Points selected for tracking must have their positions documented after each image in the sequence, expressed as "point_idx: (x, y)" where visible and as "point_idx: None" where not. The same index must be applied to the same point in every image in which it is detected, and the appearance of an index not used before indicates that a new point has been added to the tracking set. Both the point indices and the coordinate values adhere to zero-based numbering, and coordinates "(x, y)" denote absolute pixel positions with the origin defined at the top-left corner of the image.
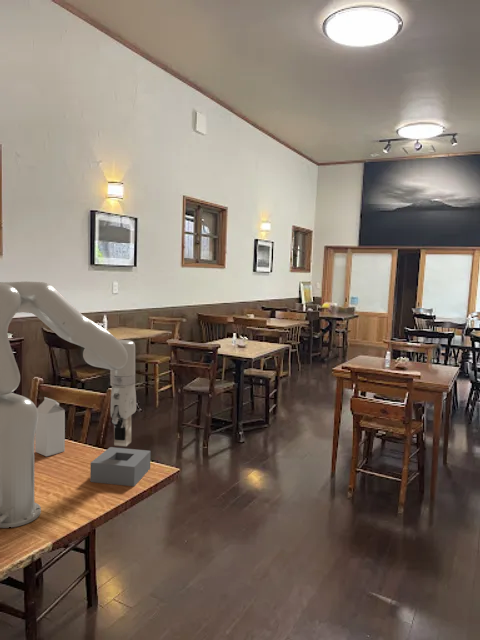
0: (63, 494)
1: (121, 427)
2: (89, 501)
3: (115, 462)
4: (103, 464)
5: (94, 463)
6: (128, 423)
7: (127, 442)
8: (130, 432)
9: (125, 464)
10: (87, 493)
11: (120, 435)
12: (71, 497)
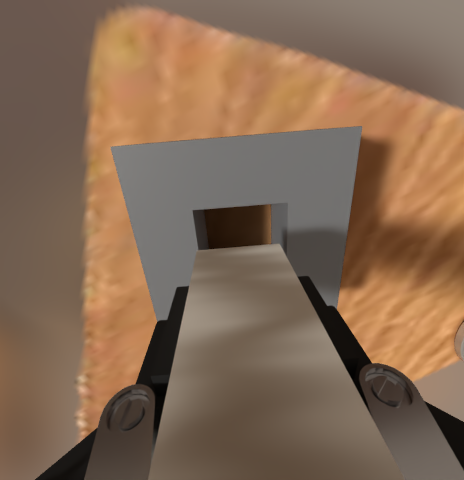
0: (395, 298)
1: (404, 384)
2: (441, 217)
3: (317, 241)
4: (339, 275)
5: (336, 306)
6: (271, 384)
7: (265, 254)
8: (206, 292)
9: (334, 188)
10: (387, 248)
11: (340, 320)
12: (414, 273)
